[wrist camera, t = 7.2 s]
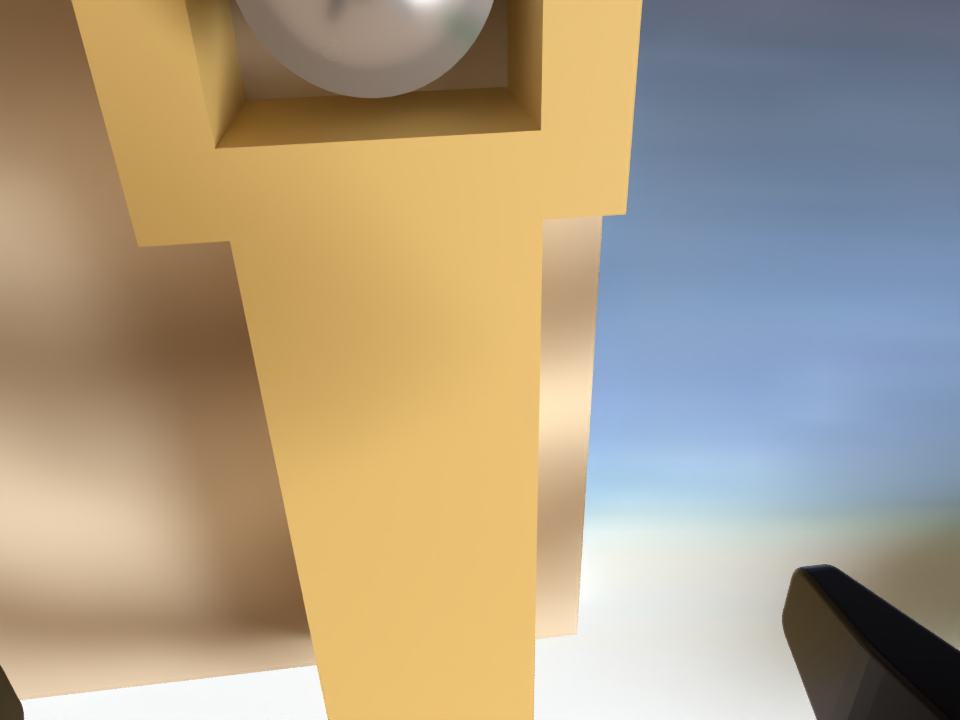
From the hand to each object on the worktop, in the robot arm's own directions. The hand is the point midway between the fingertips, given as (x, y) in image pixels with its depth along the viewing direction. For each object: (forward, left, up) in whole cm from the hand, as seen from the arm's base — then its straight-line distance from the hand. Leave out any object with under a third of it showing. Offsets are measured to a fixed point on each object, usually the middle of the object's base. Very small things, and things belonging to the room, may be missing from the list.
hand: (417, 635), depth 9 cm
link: (-1, 0, -8) cm, 8 cm away
